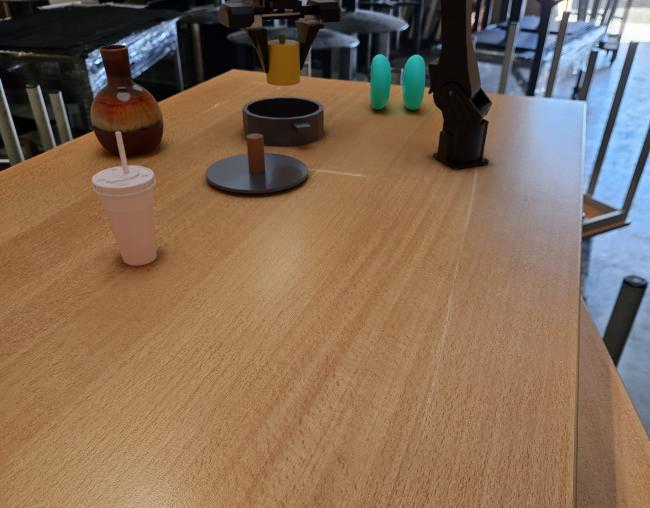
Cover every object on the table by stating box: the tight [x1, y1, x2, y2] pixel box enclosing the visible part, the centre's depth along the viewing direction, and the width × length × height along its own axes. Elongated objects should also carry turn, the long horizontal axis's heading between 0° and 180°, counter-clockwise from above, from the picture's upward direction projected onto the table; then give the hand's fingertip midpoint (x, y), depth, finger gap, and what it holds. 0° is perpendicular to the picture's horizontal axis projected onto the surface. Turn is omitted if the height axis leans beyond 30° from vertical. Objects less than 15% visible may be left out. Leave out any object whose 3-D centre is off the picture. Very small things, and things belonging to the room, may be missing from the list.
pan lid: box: [205, 134, 309, 194], centre depth 83 cm, size 15×15×6 cm
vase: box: [89, 44, 164, 157], centre depth 90 cm, size 11×11×15 cm
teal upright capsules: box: [369, 53, 426, 111], centre depth 112 cm, size 10×10×10 cm
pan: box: [241, 96, 325, 147], centre depth 101 cm, size 14×19×4 cm
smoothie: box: [91, 132, 158, 267], centre depth 61 cm, size 6×6×14 cm
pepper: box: [265, 33, 301, 87], centre depth 94 cm, size 6×6×7 cm
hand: (283, 71), depth 95 cm, fingers closed on pepper, 5 cm apart
